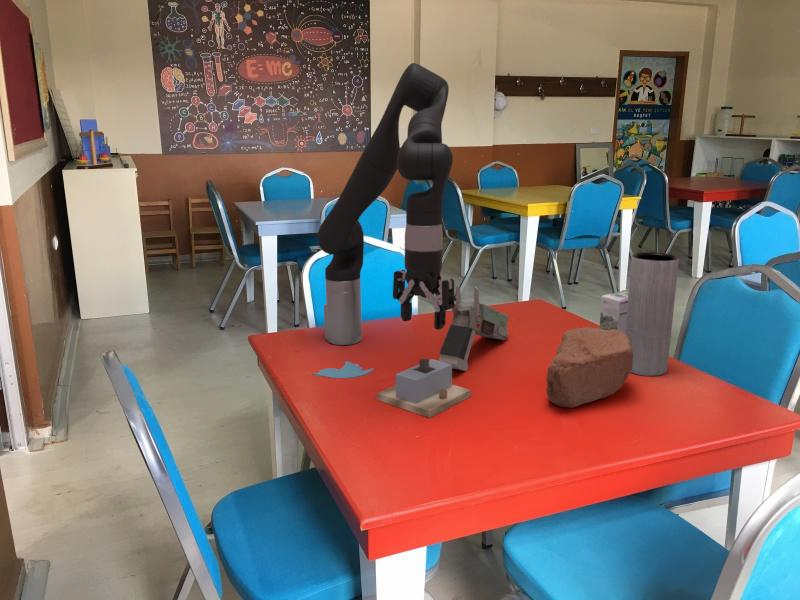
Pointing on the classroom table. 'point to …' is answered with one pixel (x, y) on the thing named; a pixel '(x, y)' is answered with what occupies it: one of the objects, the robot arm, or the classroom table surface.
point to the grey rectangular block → (423, 381)
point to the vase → (651, 311)
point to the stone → (588, 366)
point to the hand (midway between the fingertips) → (422, 324)
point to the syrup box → (613, 312)
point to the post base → (430, 404)
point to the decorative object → (344, 371)
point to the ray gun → (470, 329)
